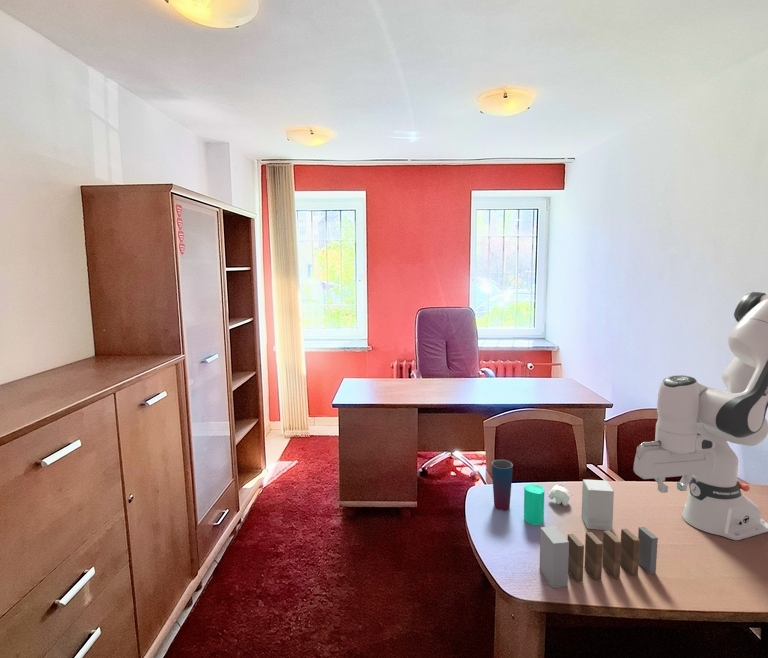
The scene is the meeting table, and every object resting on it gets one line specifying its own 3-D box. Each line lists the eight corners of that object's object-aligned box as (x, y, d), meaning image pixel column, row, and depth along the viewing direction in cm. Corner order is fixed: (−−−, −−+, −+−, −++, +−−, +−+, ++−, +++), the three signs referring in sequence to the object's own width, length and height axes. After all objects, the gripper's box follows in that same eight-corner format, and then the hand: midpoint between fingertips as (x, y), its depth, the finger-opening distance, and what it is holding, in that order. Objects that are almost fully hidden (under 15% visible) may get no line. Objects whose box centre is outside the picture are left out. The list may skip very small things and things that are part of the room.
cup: (496, 499, 154) (497, 457, 152) (515, 505, 150) (516, 462, 148) (487, 507, 149) (488, 464, 147) (507, 514, 144) (507, 470, 142)
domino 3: (607, 564, 119) (609, 530, 118) (619, 577, 114) (621, 541, 113) (602, 565, 119) (603, 530, 117) (613, 578, 114) (615, 542, 113)
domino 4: (625, 563, 120) (627, 528, 118) (637, 575, 115) (639, 539, 113) (619, 563, 119) (621, 529, 118) (632, 576, 114) (633, 540, 113)
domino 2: (590, 566, 118) (591, 531, 117) (601, 579, 114) (602, 543, 112) (584, 567, 118) (585, 532, 117) (595, 580, 113) (596, 544, 112)
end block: (553, 567, 118) (555, 525, 117) (567, 586, 112) (568, 542, 110) (539, 569, 118) (540, 527, 116) (552, 588, 111) (553, 543, 109)
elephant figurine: (548, 495, 155) (549, 479, 154) (573, 500, 152) (574, 484, 151) (546, 505, 149) (546, 488, 148) (572, 510, 146) (572, 493, 145)
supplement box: (612, 531, 134) (614, 491, 132) (586, 529, 135) (587, 489, 134) (605, 517, 141) (607, 480, 139) (580, 515, 142) (582, 478, 141)
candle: (524, 523, 139) (525, 487, 137) (523, 513, 145) (523, 478, 143) (544, 525, 137) (545, 489, 136) (542, 515, 143) (543, 480, 142)
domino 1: (572, 568, 118) (573, 533, 117) (582, 581, 113) (584, 545, 112) (566, 569, 118) (567, 534, 116) (576, 582, 113) (578, 546, 111)
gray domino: (642, 561, 120) (644, 526, 119) (655, 573, 115) (657, 537, 114) (636, 561, 120) (638, 527, 119) (649, 574, 115) (652, 538, 114)
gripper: (646, 447, 109) (643, 500, 111) (722, 441, 111) (717, 493, 113) (629, 437, 115) (626, 488, 117) (701, 432, 118) (697, 481, 119)
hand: (672, 490), depth 115 cm, fingers open, 4 cm apart
